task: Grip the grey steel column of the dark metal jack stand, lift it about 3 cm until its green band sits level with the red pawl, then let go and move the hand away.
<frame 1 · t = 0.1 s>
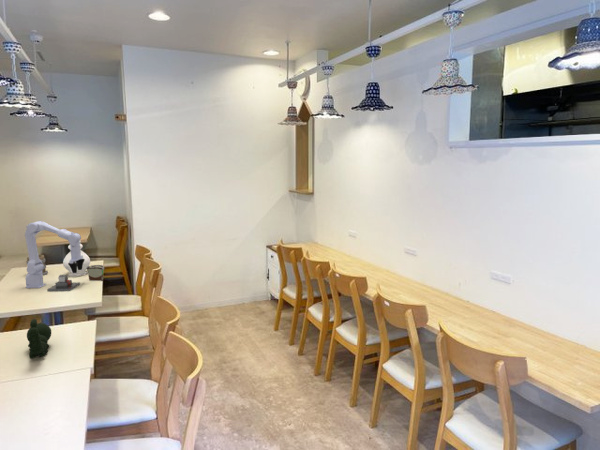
hand: (77, 271, 277), 10 cm above the table, tool pointing down, fingers open, 7 cm apart
tankard: (36, 276, 302), on the table
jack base: (64, 287, 273), on the table
dark green bumpy clump: (39, 352, 182), on the table
food container: (98, 279, 293), on the table
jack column: (63, 280, 272), point 5 cm above the table, slide at 0.0 cm
decorative vase: (77, 274, 306), on the table
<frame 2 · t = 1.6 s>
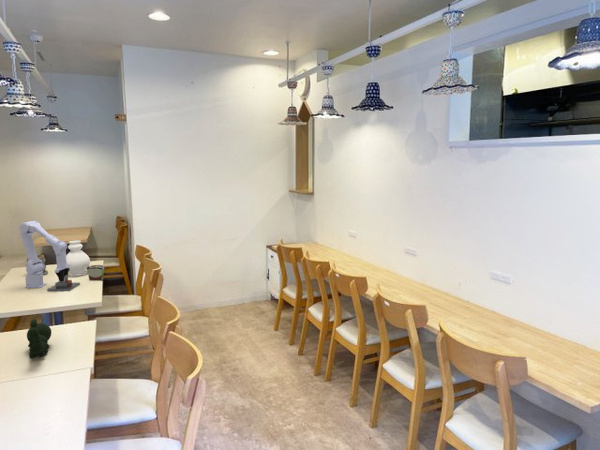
hand: (63, 280, 272), 5 cm above the table, tool pointing down, fingers closed on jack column, 4 cm apart
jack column: (63, 280, 272), point 5 cm above the table, slide at 0.0 cm, touching gripper
everything else where it was.
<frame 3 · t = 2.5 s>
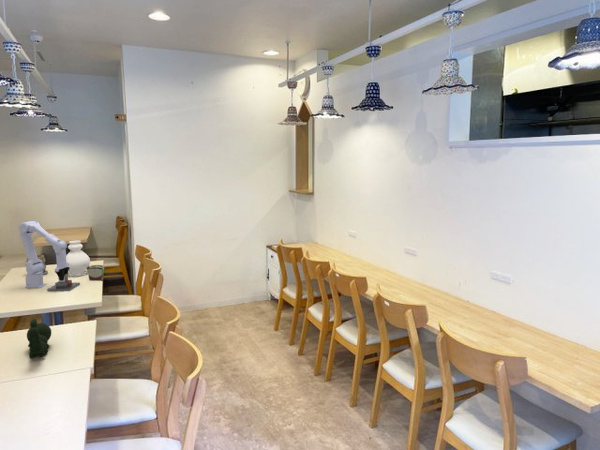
hand: (63, 279, 272), 6 cm above the table, tool pointing down, fingers closed on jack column, 4 cm apart
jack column: (63, 279, 272), point 6 cm above the table, slide at 0.7 cm, touching gripper
everything else where it was.
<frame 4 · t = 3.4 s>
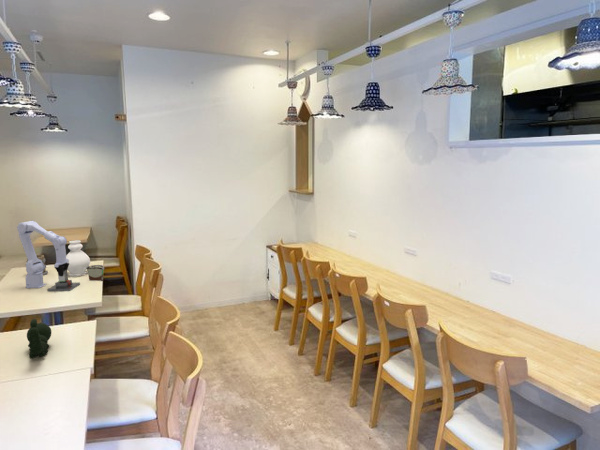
hand: (62, 275, 272), 9 cm above the table, tool pointing down, fingers closed on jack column, 4 cm apart
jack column: (63, 275, 272), point 9 cm above the table, slide at 3.5 cm, touching gripper
everything else where it was.
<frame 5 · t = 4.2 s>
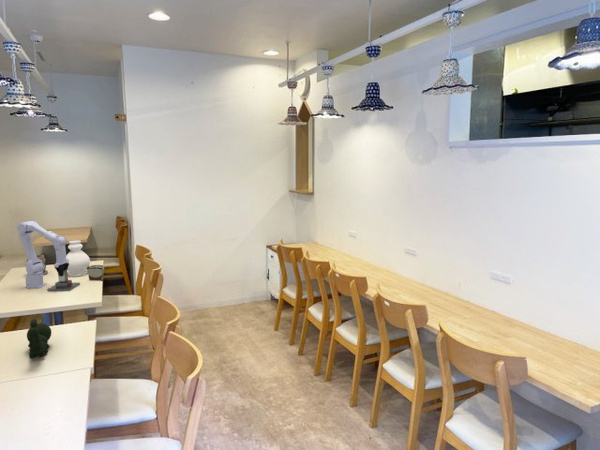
hand: (62, 275, 272), 9 cm above the table, tool pointing down, fingers closed on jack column, 4 cm apart
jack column: (63, 275, 272), point 9 cm above the table, slide at 3.5 cm, touching gripper
everything else where it was.
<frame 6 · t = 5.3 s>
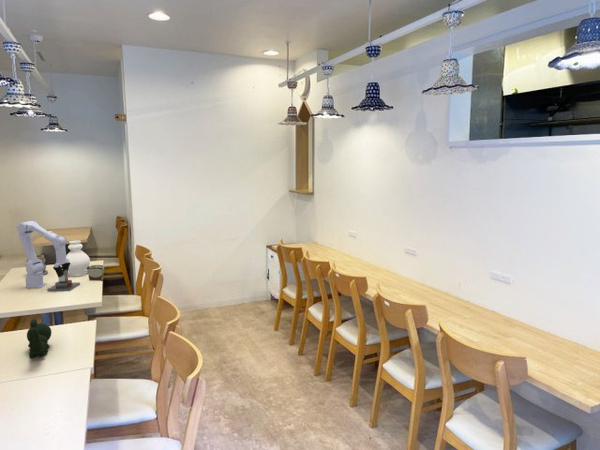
hand: (62, 275, 272), 9 cm above the table, tool pointing down, fingers open, 7 cm apart
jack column: (63, 275, 272), point 9 cm above the table, slide at 3.5 cm
everything else where it was.
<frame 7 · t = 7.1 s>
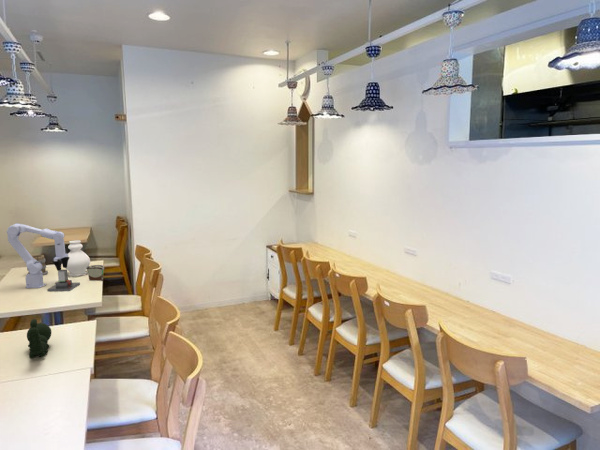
hand: (62, 269, 281), 10 cm above the table, tool pointing down, fingers open, 7 cm apart
nothing on the table moved.
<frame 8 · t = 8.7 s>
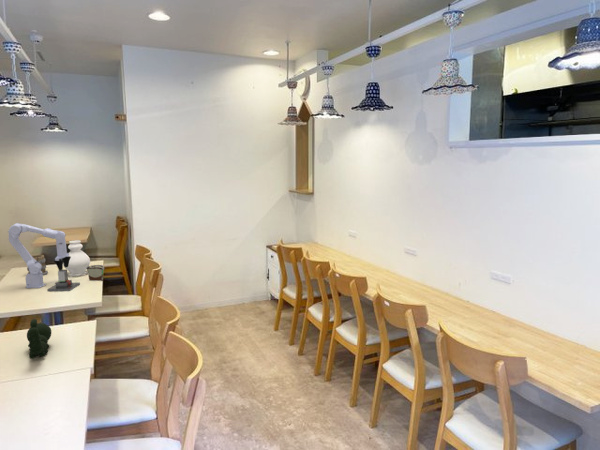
hand: (63, 268, 282), 10 cm above the table, tool pointing down, fingers open, 7 cm apart
nothing on the table moved.
at the end: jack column slide at 3.5 cm; the gripper is holding nothing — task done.
